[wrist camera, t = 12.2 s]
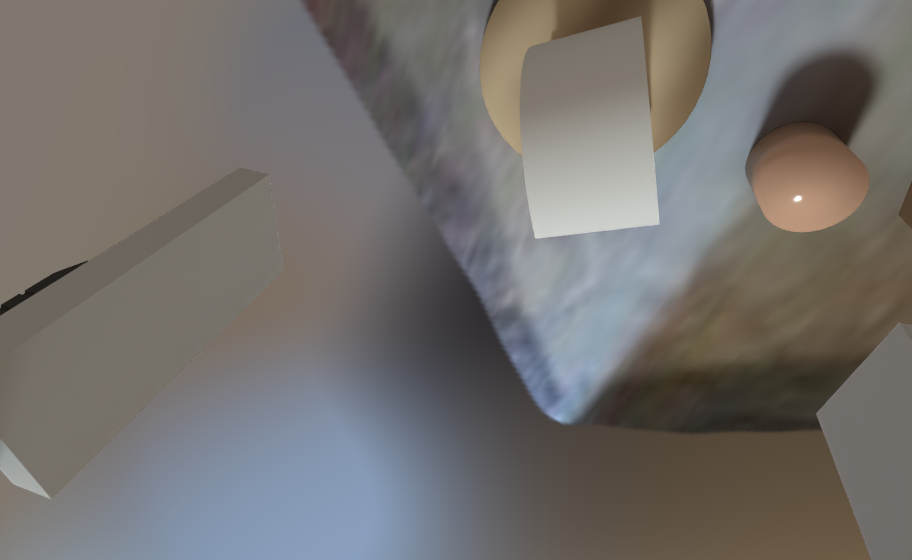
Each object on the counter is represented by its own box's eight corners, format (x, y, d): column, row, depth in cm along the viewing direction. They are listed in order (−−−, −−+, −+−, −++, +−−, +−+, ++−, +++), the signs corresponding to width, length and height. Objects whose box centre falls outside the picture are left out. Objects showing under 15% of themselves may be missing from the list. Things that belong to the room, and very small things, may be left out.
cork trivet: (753, -49, 22) (757, -48, 21) (660, 188, 29) (661, 193, 29) (499, -80, 24) (495, -80, 23) (472, 149, 31) (468, 154, 31)
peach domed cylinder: (858, 130, 25) (891, 159, 22) (812, 204, 28) (835, 240, 24) (768, 114, 26) (787, 141, 22) (731, 189, 28) (744, 221, 25)
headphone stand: (565, 136, 28) (534, 238, 19) (546, 25, 25) (498, 83, 16) (649, 119, 27) (659, 225, 17) (639, -2, 23) (647, 47, 14)
